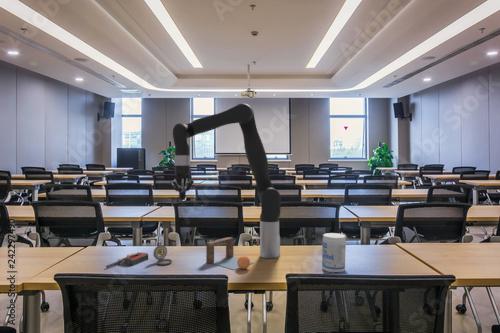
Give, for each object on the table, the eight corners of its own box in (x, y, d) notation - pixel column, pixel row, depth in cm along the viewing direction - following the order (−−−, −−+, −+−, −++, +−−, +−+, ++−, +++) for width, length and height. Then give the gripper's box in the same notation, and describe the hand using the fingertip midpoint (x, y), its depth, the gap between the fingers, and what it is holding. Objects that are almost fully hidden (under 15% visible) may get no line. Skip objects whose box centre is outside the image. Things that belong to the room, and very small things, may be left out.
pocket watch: (168, 266, 149) (167, 243, 148) (150, 264, 150) (150, 242, 150) (175, 260, 157) (175, 239, 157) (159, 259, 158) (158, 238, 158)
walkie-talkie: (136, 257, 164) (104, 269, 145) (136, 248, 164) (104, 259, 145) (151, 259, 160) (120, 272, 142) (151, 250, 160) (120, 261, 142)
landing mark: (233, 257, 161) (233, 257, 161) (253, 263, 153) (253, 262, 153) (212, 263, 152) (212, 263, 152) (233, 270, 143) (233, 269, 143)
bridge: (206, 262, 153) (206, 242, 153) (228, 255, 164) (228, 237, 164) (210, 264, 151) (210, 243, 151) (233, 257, 162) (233, 238, 162)
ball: (254, 261, 143) (249, 270, 146) (247, 252, 147) (243, 260, 149) (244, 263, 140) (239, 272, 142) (237, 253, 144) (233, 262, 146)
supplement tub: (318, 270, 143) (318, 235, 143) (328, 264, 150) (328, 231, 150) (339, 275, 137) (339, 238, 137) (349, 269, 144) (349, 234, 144)
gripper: (175, 164, 159) (176, 201, 159) (197, 164, 169) (197, 199, 169) (166, 164, 164) (166, 200, 164) (188, 164, 173) (188, 198, 174)
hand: (182, 199), depth 166 cm, fingers closed
